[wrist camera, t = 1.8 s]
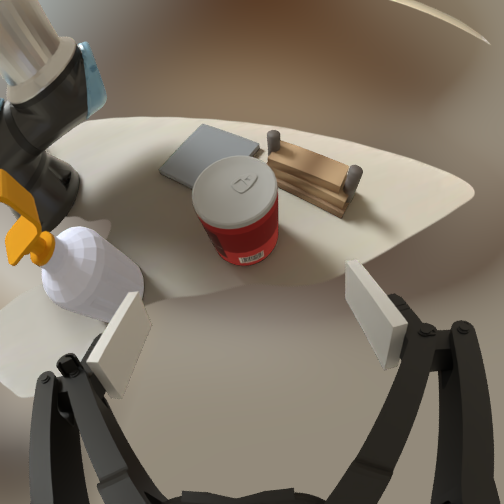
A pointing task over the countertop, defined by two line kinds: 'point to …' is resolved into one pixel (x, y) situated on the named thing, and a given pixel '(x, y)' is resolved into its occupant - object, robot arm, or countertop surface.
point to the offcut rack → (312, 175)
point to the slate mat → (204, 153)
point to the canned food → (238, 208)
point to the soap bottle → (70, 259)
